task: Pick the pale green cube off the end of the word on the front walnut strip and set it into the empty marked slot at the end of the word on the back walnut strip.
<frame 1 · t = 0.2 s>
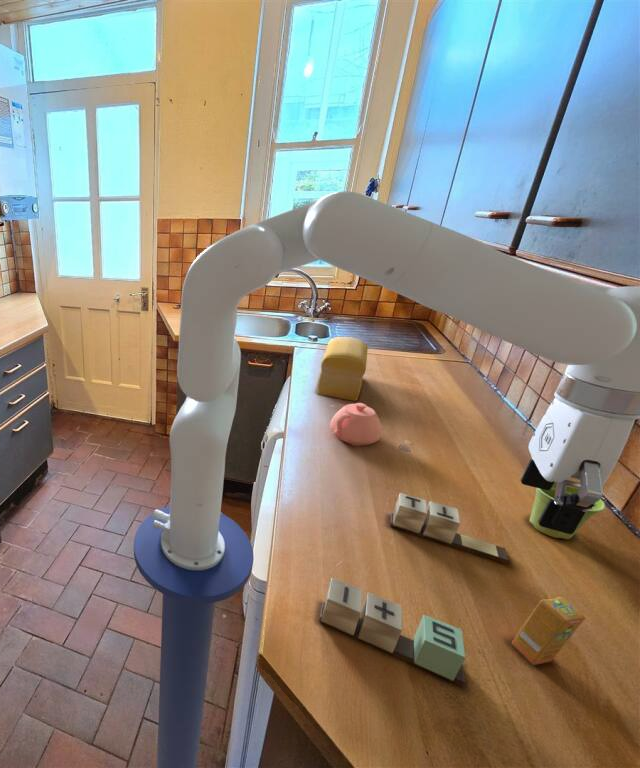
hand: (543, 506, 55), 22 cm above the worktop, tool pointing down, fingers open, 9 cm apart
bread: (338, 384, 144), on the worktop
plant pot: (549, 529, 80), on the worktop
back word: (444, 538, 78), on the worktop
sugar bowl: (350, 438, 111), on the worktop
supplement box: (531, 654, 58), on the worktop
pale green cube: (432, 658, 57), point 1 cm above the worktop, touching front word
front word: (385, 642, 60), on the worktop
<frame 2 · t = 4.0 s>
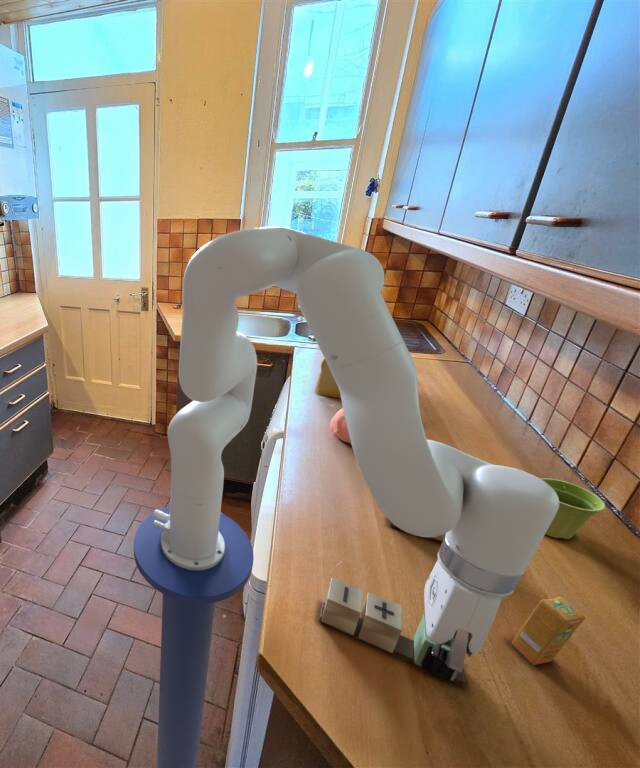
hand: (434, 655, 57), 2 cm above the worktop, tool pointing down, fingers closed on pale green cube, 4 cm apart
pale green cube: (432, 658, 57), point 1 cm above the worktop, touching front word, gripper
everything else where it was.
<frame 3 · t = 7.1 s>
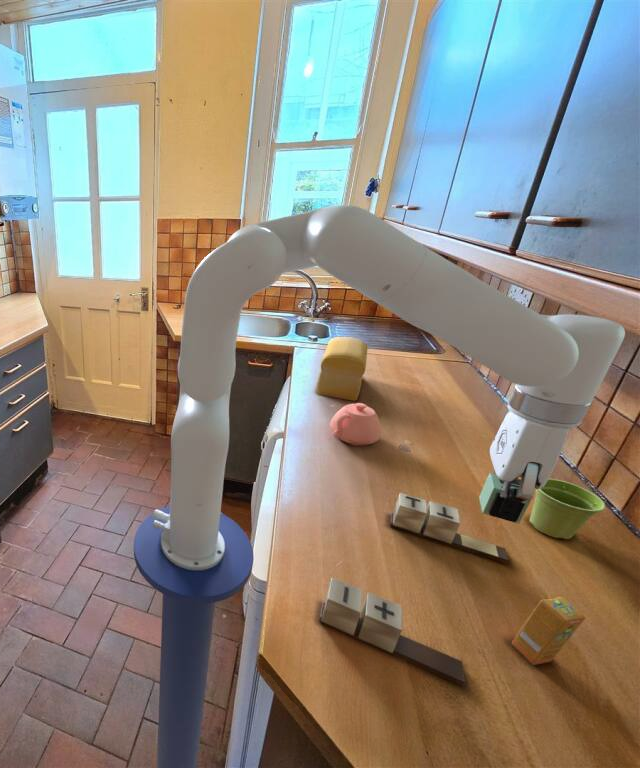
hand: (499, 506, 64), 16 cm above the worktop, tool pointing down, fingers closed on pale green cube, 4 cm apart
pale green cube: (498, 510, 64), point 15 cm above the worktop, touching gripper
everything else where it was.
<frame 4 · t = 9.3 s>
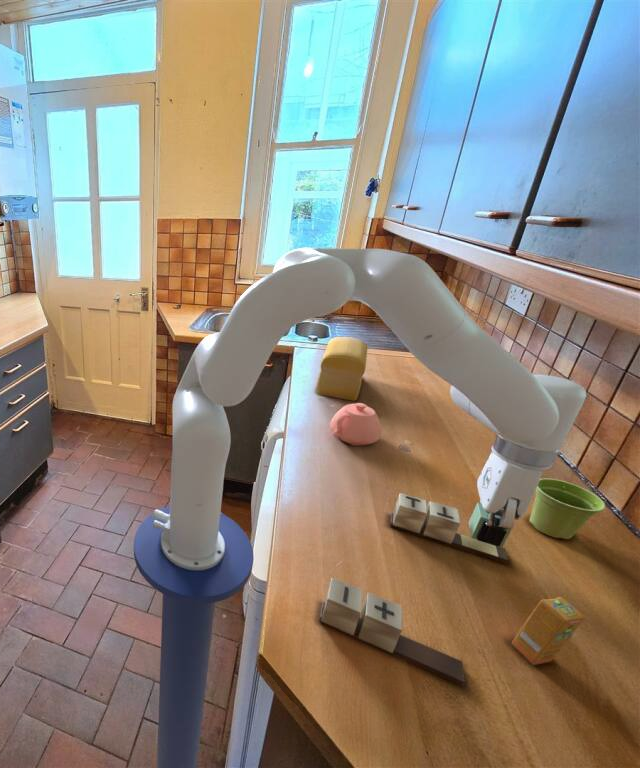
hand: (485, 532, 74), 4 cm above the worktop, tool pointing down, fingers closed on pale green cube, 4 cm apart
pale green cube: (484, 534, 74), point 4 cm above the worktop, touching gripper
everything else where it was.
when the fingers open (2 cm above the worktop, at t = 10.4 s): pale green cube stays where it is, resting on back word.
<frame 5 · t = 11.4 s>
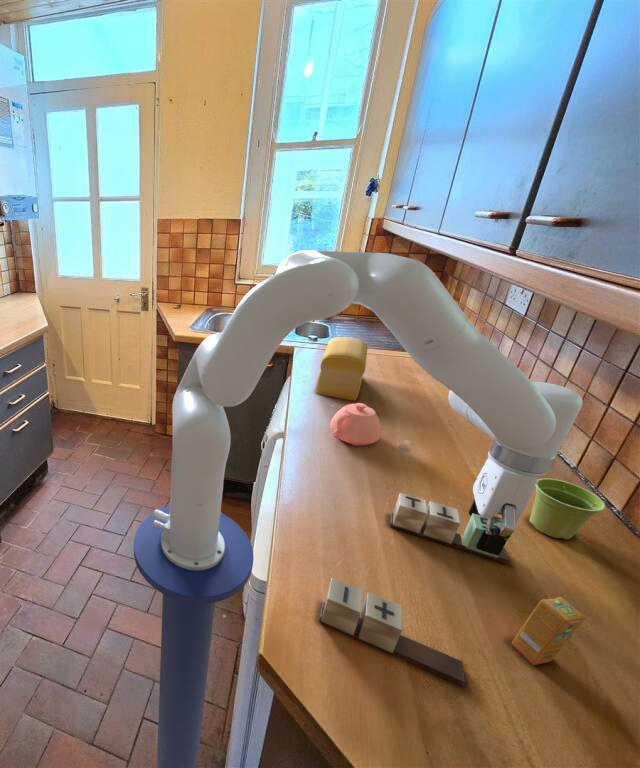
hand: (482, 533, 74), 4 cm above the worktop, tool pointing down, fingers open, 9 cm apart
pale green cube: (479, 545, 75), point 1 cm above the worktop, touching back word
everything else where it was.
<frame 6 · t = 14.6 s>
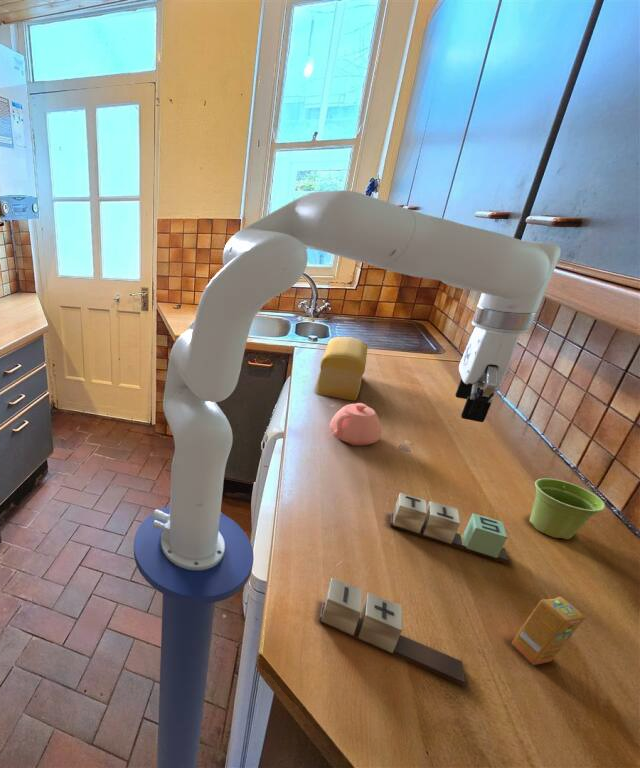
hand: (468, 408, 75), 24 cm above the worktop, tool pointing down, fingers open, 9 cm apart
nothing on the worktop moved.
at the end: pale green cube 0.1 cm from the target spot on the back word, point 1.0 cm above the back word's base; pale green cube tilted 0°; the gripper is holding nothing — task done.
